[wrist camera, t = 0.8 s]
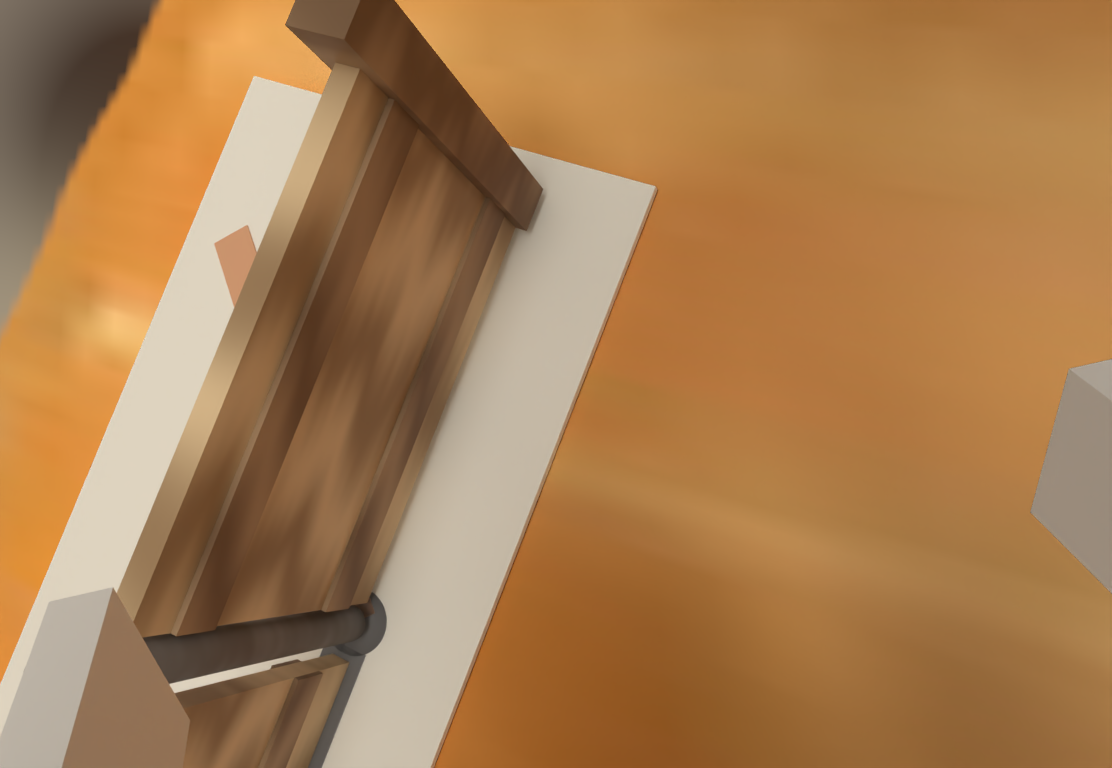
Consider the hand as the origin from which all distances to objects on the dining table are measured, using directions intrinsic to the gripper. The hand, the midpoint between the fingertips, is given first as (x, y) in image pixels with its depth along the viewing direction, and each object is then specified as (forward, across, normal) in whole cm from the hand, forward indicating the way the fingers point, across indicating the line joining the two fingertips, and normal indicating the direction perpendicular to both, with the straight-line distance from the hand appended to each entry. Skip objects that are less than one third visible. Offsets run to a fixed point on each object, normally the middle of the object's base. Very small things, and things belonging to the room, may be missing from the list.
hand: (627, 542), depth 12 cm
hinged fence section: (+20, -3, -11) cm, 23 cm away
